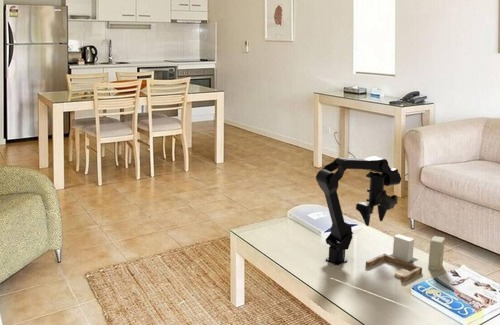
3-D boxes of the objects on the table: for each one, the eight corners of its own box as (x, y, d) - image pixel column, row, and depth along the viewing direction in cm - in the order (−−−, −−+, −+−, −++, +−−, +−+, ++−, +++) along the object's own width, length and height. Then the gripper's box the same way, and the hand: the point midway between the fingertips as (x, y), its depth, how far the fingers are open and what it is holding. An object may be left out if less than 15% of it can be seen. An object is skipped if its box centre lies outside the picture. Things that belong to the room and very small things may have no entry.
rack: (403, 283, 187) (403, 277, 187) (365, 267, 200) (365, 261, 199) (421, 273, 195) (422, 267, 194) (383, 259, 208) (384, 253, 207)
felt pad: (407, 265, 202) (407, 264, 201) (385, 257, 209) (385, 256, 209) (418, 260, 207) (418, 259, 206) (397, 252, 214) (397, 251, 214)
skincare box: (439, 272, 196) (442, 242, 193) (427, 269, 199) (430, 240, 196) (442, 266, 201) (445, 237, 199) (431, 263, 204) (433, 235, 201)
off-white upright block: (407, 262, 204) (409, 241, 202) (392, 256, 209) (394, 236, 207) (412, 259, 206) (414, 239, 204) (397, 254, 211) (399, 234, 209)
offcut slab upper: (402, 279, 190) (403, 276, 189) (394, 275, 192) (394, 273, 192) (410, 274, 193) (411, 271, 193) (402, 271, 196) (402, 268, 196)
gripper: (379, 196, 195) (376, 234, 199) (407, 187, 207) (404, 223, 211) (356, 189, 204) (353, 226, 207) (384, 181, 215) (381, 216, 219)
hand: (374, 223), depth 211 cm, fingers open, 9 cm apart
